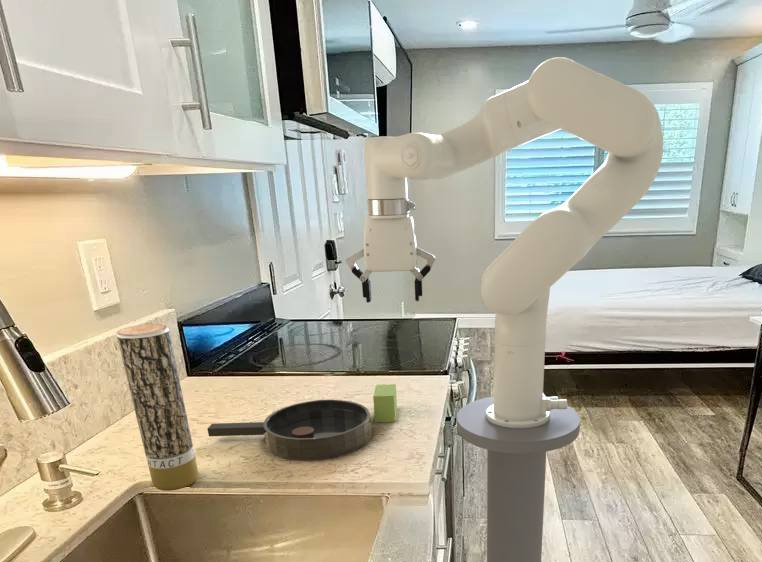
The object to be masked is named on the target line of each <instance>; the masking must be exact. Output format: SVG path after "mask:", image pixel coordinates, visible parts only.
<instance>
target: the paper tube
mask: <svg viewBox="0 0 762 562" xmlns="http://www.w3.org/2000/svg"><path fill="white" fill-rule="evenodd" d="M116 338H117V344H118V347H119V352H120V355H121V360H122V363H123V367H124V368H123V369H124V372H125V375H126V376H125V377H126V380H127V385H128V388H129V393H130V396H131V400H132V401H131V402H132V404H133V405H132V406H133V409H134V413H135V417H136V421H137V425H138V430H139V434H140V437H141V442H142V446H143V450H144V453H145V454H144V455H145V458H146V462H147V466H148V470H149V474H150V479H151V482H152V486H153V487H154V488H155V489H157V490H160V491H165V492H170V491H172V492H173V491H178V490H181V489H184V488H187V487H189V486H191V485H192V484H194V483H195V482H196V481H197V480H198V478H199V469H198V465H197V460H196V455H195V449H194V445H193V438H192V435H191V430H190V424H189V419H188V415H187V409H186V406H185V400H184V395H183V390H182V386H181V381H180V376H179V372H178V367H177V362H176V361H177V360H176V357H175V352H174V347H173V342H172V338H171V333H170V329H169V326H168V325H167V324H162V323H148V324H138V325H131V326H128V327H123V328H119V329H118V330H117V331H116Z"/></svg>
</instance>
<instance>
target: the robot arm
mask: <svg viewBox="0 0 762 562" xmlns="http://www.w3.org/2000/svg"><path fill="white" fill-rule="evenodd" d="M561 130H562V131H563V132H565V133H568V134H570V135H572V136H574V137H575V138H578V139H579V140H582V141H584V142H587V143H589V144H591V145H593V146H595V147H597V148H599V149H601V150H603V151H605V152H607V153H608V154H607V156H606V158H605V160H604V162H603V163H602V164H601V165H600V166H599V168H597V169H596V171H594V173H592V174H591V175H589V177H588V178H586V180H585V181H584V182H583V183H582V184H581V186H580V187H579V188H578V189H576V191H574V192H573V194H572V195H570V197H568V198H567V199H566V200H565V201H564V202H563V203H561V205H559V206H557V207H555V208H552V209H549V210H547V211H545V212H543V213H541V214H540V215H538V216H537V217H536V218H535V219H533V220H532V222H530V224H528V225H527V227H525V228H524V229H523V230H522V232H520V233H519V234H518V235H517V236H516V237H515V238H514V240H513V241H512V242H511V243H509V245H508V246H507V247H505V249H504V250H502V252H500V254H499V255H497V257H496V258H495V259H494V260H493V261H492V262H491V263H490V264H489V265H488V266H487V268H486V269H485V270H484V272H483V275H482V277H481V280H480V294H481V299H482V300H483V303H484V304H485V305H486V307H487V308H488V309H489V310H490V311H492V312H493V313H495V319H494V338H493V339H494V341H493V343H494V346H493V348H494V349H493V362H494V363H493V397H494V404H493V405H491V406H489V407H488V408H487V410H486V418H487V419H488V420H489V421H490V422H491V423H493V424H495V425H498V426H502V427H507V428H516V429H524V428H533V427H537V426H540V425H543V424H545V423H546V422H548V421H549V419H550V411H551V409H567V406H568V400H567V399H566V398H565V399H559V396H546V394H545V393H544V381H545V380H544V379H545V378H544V377H545V356H546V338H547V337H546V336H547V320H548V310H549V309H548V308H549V301H550V293H551V287H552V286H553V285H555V284H556V283H557V282H558V281H559V280H560V279H561V278H562V277H563V276H564V275H565V274H566V273H567V272H569V271H570V270H571V269H572V268H573V267H574V266H575V265H577V264H578V263H579V262H580V261H581V260H583V259H584V258H585V256H586V255H587V254H588V253H589V252H590V250H591V249H592V248H593V247H594V246H595V245H596V244H597V243H598V242H599V241H600V240H601V239H602V238H603V237H605V235H606V234H607V233H608V232H610V230H612V229H613V227H615V226H616V224H618V223H619V222H620V220H621V219H623V218H624V217H625V215H627V214H628V213H629V212H630V211H631V210H632V209H633V208H634V207H635V206H636V205H637V204H638V203H639V202H640V201H641V199H642V198H643V197H645V195H646V194H647V192H648V191H649V190H650V188H651V186H652V185H653V183H654V181H655V179H656V178H657V175H658V172H659V170H660V167H661V164H662V161H663V154H664V136H663V129H662V124H661V118H660V114H659V112H658V110H657V108H656V106H655V103H654V102H653V101H652V99H651V98H650V97H648V96H647V94H645V93H644V92H643V91H641V90H638V89H637V88H634V87H632V86H630V85H628V84H626V83H623V82H621V81H618V80H616V79H614V78H611V77H609V76H608V75H605V74H603V73H600V72H598V71H595V70H594V69H591V68H590V67H587V66H585V65H583V64H582V63H579V62H578V61H575V60H573V59H571V58H568V57H563V56H558V57H557V56H556V57H552V58H549V59H546V60H545V61H542V63H540V64H539V65H537V67H535V69H534V70H533V71H532V73H531V75H530V76H529V79H528V80H526V81H524V82H523V83H520V84H518V85H515V86H513V87H512V88H510V89H506V90H504V91H502V92H500V93H498V94H495V95H492V96H490V97H489V98H487V99H485V101H484V102H483V104H482V105H481V107H480V109H479V111H478V113H476V115H475V116H473V117H472V118H470V119H469V120H468V121H466V122H465V123H463V124H461V125H457V126H456V127H453V128H451V129H450V130H447V131H445V132H442V133H440V134H431V133H425V132H410V133H406V134H400V135H398V136H391V135H389V136H388V135H387V136H386V135H385V136H384V135H382V136H372V137H368V138H367V139H366V140H365V141H364V144H363V157H364V158H363V159H364V171H365V184H366V185H365V186H366V198H367V200H366V202H367V203H366V204H367V214H368V215H367V216H368V217H364V225H363V226H364V227H363V248H362V249H360V250H358V251H357V252H355V253H353V254H352V255H349V256H348V257H347V258H346V259H345V263H346V264H347V266H348V268H349V269H350V271H351V273H352V274H353V275H354V276H355V277H356V278H357V279H358V280H359V281H360V282H361V289H362V298H365V301H366V303H370V302H371V301H372V285H371V280H370V279H369V278H370V276H371V274H372V273H381V272H382V273H384V272H385V273H387V272H391V273H392V272H411V274H412V275H413V276H414V277H415V279H414V300H415V302H420V297H423V279H424V278H425V277H426V276H427V275H428V274H429V273H430V271H431V270H432V267H433V265H434V264H435V261H436V256H435V255H434V254H432V253H430V252H428V251H426V250H424V249H422V248H420V247H417V237H416V228H415V223H414V218H413V216H411V215H409V213H410V212H411V211H416V208H417V207H416V202H414V201H413V202H412V201H410V200H409V199H408V181H407V180H408V179H409V180H417V181H418V180H421V181H426V180H441V179H445V178H449V177H451V176H454V175H457V174H459V173H461V172H464V171H466V170H469V169H472V168H474V167H476V166H478V165H480V164H482V163H484V162H486V161H489V160H491V159H493V158H496V157H498V156H500V155H501V154H503V153H506V152H508V151H511V150H512V149H516V148H517V147H521V146H522V145H524V144H528V143H530V142H532V141H535V140H537V139H539V138H542V137H545V136H547V135H551V134H553V133H555V132H557V131H561ZM418 257H420V258H423V259H424V260H426V263H425V264H424V266H423V268H421V269H419V268H418V266H417V265H418ZM361 258H363V263H364V268H365V270H364V271H362V270H361V269H360V268H359V267H358V265H357V264H356V262H357V261H358V260H360V259H361Z"/></svg>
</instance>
